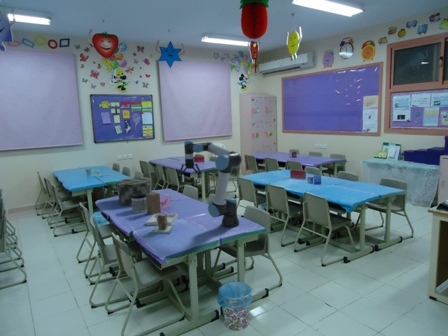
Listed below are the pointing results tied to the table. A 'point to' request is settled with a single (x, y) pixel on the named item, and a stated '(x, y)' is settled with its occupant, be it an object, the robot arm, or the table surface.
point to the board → (157, 231)
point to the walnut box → (162, 222)
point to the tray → (170, 219)
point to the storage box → (133, 189)
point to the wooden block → (153, 203)
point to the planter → (139, 203)
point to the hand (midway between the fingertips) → (190, 181)
